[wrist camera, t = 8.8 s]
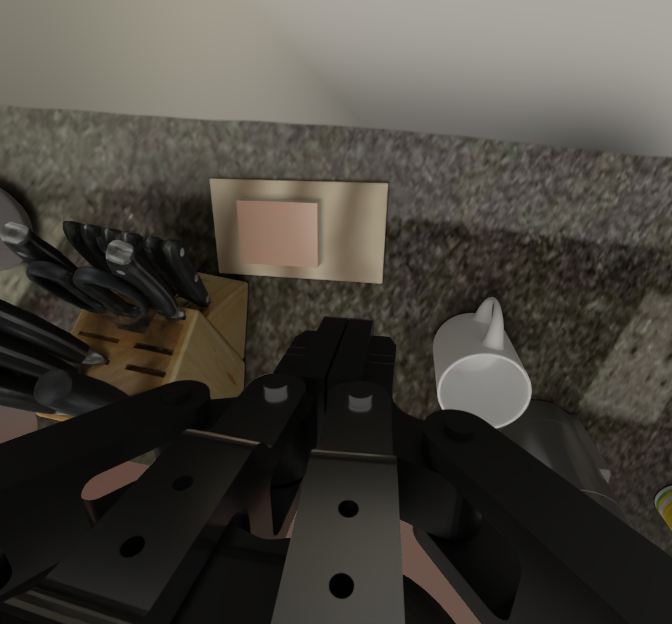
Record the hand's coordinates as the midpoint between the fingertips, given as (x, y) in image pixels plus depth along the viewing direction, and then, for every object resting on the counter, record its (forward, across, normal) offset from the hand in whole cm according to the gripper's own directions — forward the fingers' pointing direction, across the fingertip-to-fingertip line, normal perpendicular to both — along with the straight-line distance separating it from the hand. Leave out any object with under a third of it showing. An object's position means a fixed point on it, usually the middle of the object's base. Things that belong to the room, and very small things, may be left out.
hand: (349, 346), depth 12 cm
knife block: (+34, +24, +17) cm, 45 cm away
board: (+34, +11, +3) cm, 36 cm away
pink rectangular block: (+32, +8, +3) cm, 33 cm away
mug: (+34, -10, +14) cm, 39 cm away
